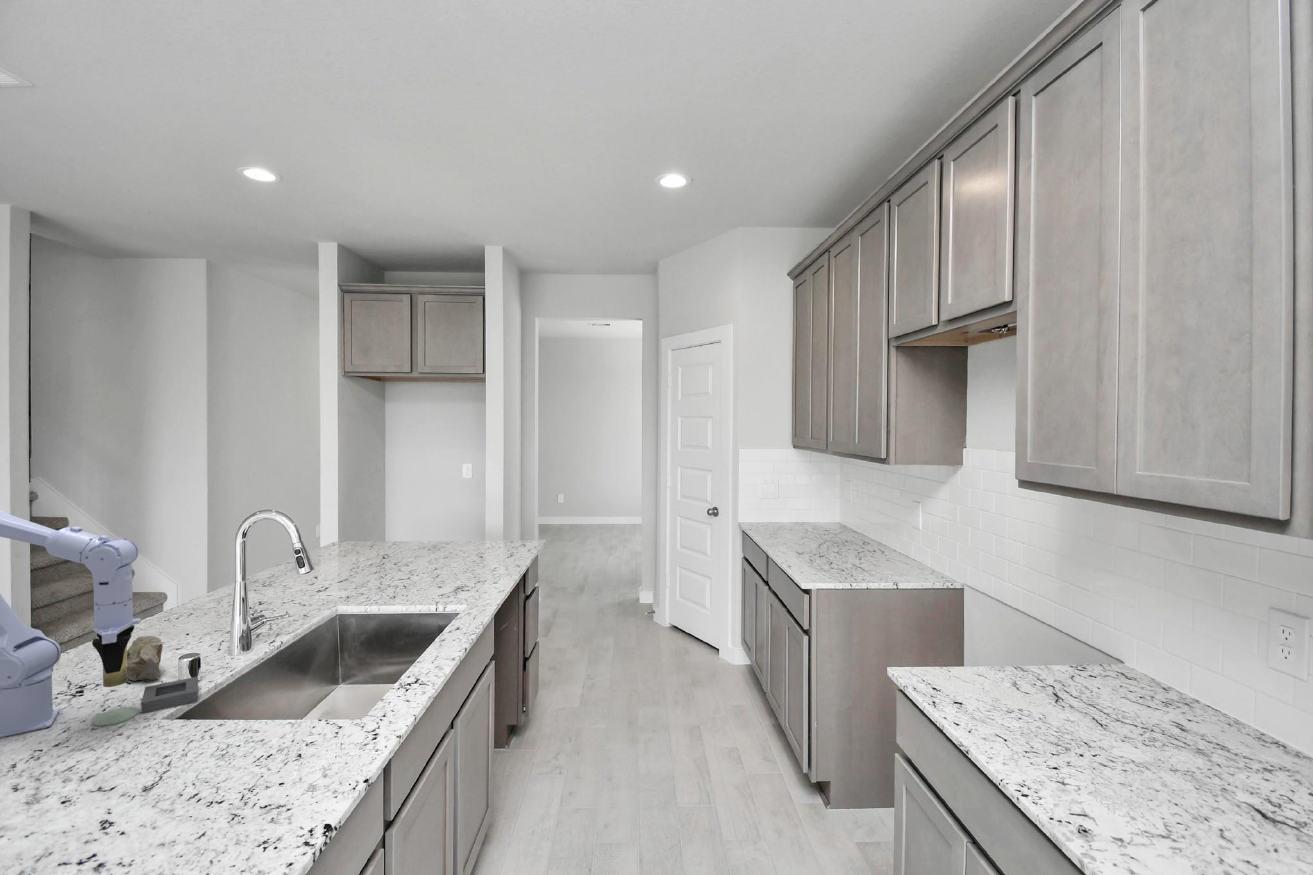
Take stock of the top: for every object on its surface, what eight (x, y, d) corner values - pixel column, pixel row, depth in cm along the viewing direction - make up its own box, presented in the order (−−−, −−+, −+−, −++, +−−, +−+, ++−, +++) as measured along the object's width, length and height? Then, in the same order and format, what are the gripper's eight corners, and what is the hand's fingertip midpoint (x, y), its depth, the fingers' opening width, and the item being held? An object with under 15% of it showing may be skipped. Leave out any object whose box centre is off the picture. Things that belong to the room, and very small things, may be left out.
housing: (141, 713, 121) (141, 702, 121) (145, 697, 128) (145, 686, 128) (197, 701, 126) (197, 691, 126) (198, 686, 134) (197, 676, 134)
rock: (121, 665, 142) (128, 628, 140) (157, 661, 146) (164, 626, 144) (118, 698, 133) (126, 659, 131) (156, 694, 137) (164, 656, 136)
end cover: (101, 688, 117) (101, 652, 117) (104, 682, 120) (103, 646, 119) (126, 683, 119) (125, 647, 119) (128, 677, 122) (127, 642, 122)
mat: (88, 729, 115) (88, 727, 115) (94, 715, 120) (94, 713, 120) (137, 719, 119) (136, 717, 119) (140, 705, 124) (140, 703, 124)
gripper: (136, 606, 115) (137, 675, 116) (143, 589, 127) (144, 652, 127) (86, 613, 111) (87, 685, 112) (98, 595, 123) (99, 660, 123)
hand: (114, 668), depth 119 cm, fingers closed on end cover, 4 cm apart
